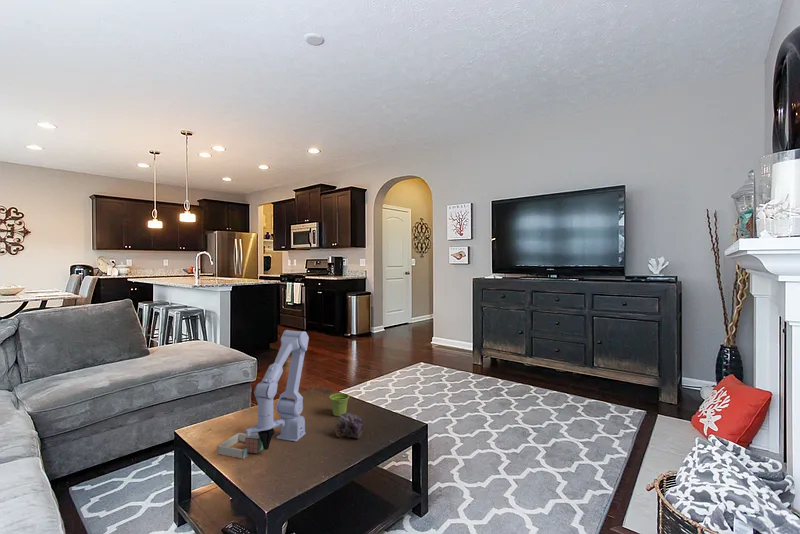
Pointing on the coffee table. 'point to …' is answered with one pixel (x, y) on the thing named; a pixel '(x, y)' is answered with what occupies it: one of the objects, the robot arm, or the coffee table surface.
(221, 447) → the white frame
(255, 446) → the puzzle toy
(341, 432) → the rock
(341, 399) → the plant pot
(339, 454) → the coffee table surface
